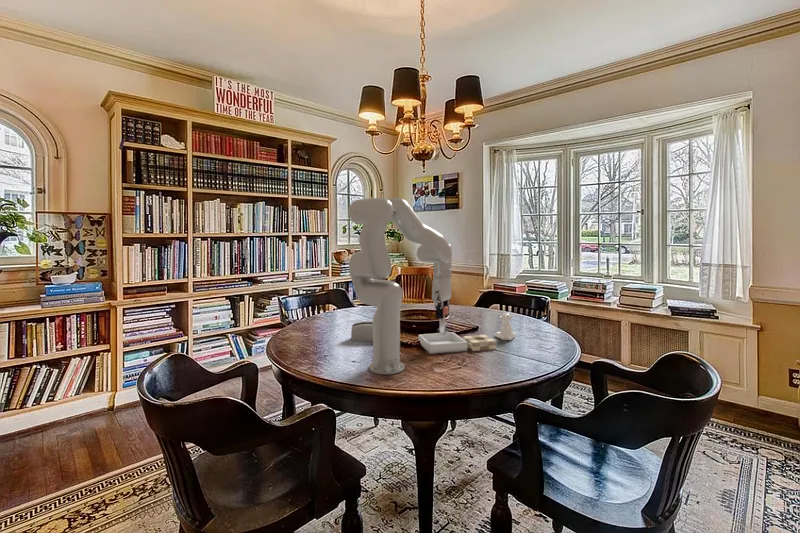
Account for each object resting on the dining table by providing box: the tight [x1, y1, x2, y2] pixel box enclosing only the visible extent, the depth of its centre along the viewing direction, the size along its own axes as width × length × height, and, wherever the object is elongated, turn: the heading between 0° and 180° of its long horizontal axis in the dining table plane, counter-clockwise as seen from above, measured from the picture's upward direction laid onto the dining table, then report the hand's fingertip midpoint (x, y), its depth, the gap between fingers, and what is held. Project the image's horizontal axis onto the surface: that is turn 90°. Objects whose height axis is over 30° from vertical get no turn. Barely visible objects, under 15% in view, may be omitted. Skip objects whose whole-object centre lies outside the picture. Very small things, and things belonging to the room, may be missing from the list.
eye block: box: [462, 334, 497, 352], centre depth 167 cm, size 10×10×4 cm
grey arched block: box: [350, 320, 373, 342], centre depth 177 cm, size 17×5×10 cm, turn 86°
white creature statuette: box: [494, 312, 516, 341], centre depth 178 cm, size 10×9×12 cm
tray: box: [418, 331, 468, 355], centre depth 167 cm, size 16×16×4 cm
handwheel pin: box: [439, 305, 448, 336], centre depth 166 cm, size 5×5×12 cm
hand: (442, 316), depth 166 cm, fingers closed on handwheel pin, 5 cm apart
